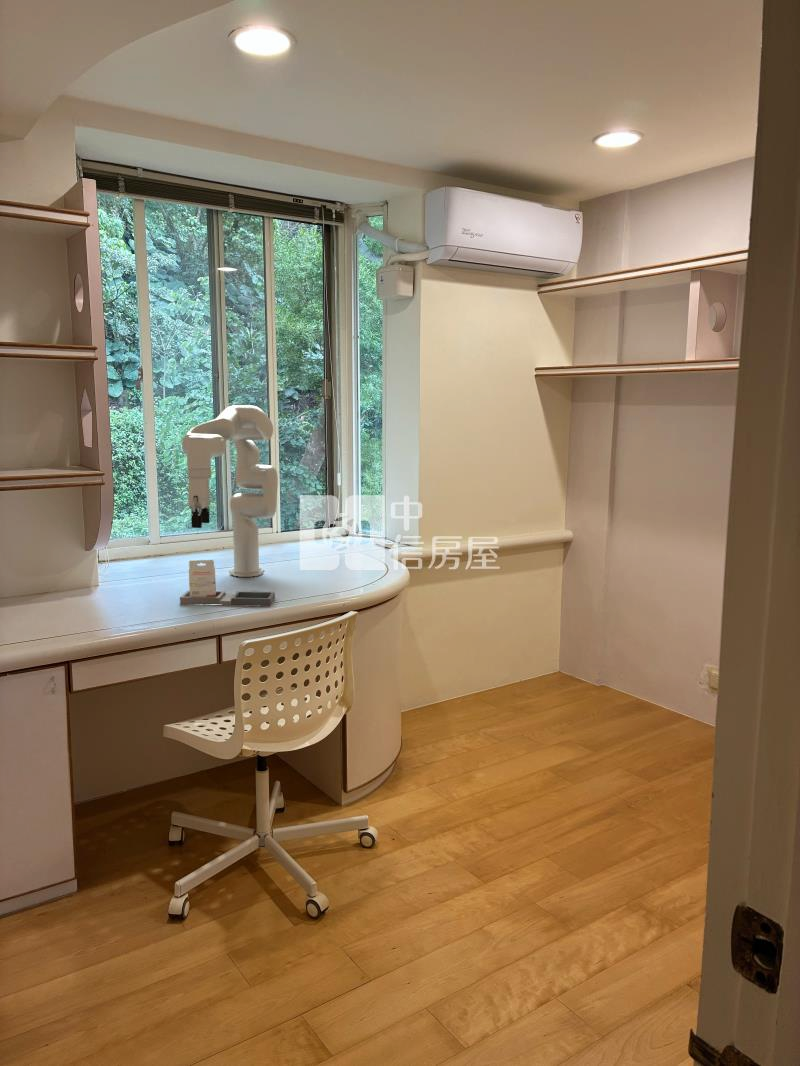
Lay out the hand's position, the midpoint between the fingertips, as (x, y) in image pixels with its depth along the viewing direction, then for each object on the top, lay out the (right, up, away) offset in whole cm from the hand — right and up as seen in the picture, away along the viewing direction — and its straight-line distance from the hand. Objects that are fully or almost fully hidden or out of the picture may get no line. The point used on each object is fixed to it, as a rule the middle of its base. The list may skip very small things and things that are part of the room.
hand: (200, 525), depth 263 cm
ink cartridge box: (0, -26, +5) cm, 26 cm away
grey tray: (+15, -26, +4) cm, 30 cm away
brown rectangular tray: (0, -26, +5) cm, 26 cm away
